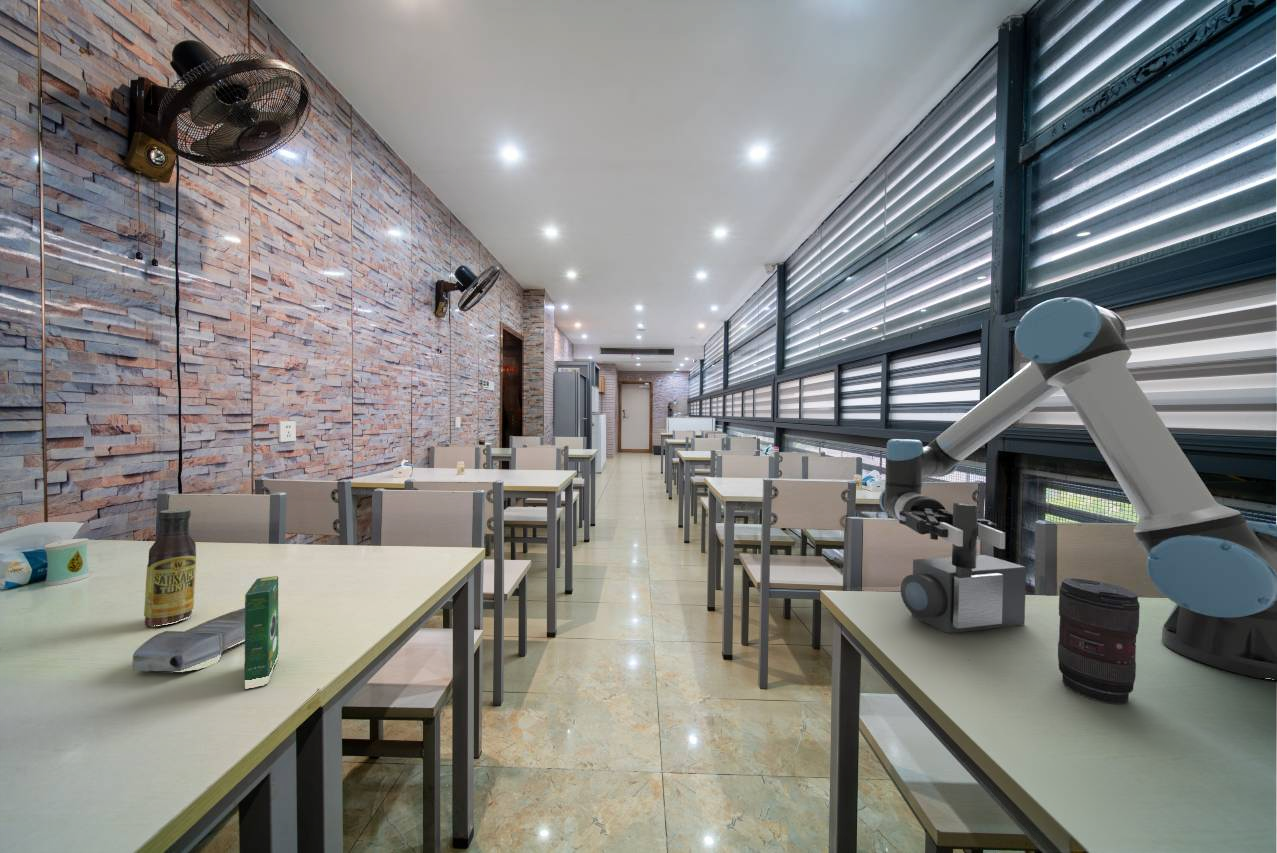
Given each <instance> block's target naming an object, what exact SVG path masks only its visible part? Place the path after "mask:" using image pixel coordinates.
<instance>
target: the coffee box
mask: <svg viewBox="0 0 1277 853" xmlns="http://www.w3.org/2000/svg"><path fill="white" fill-rule="evenodd" d="M244 608H245V642H244V663H243V664H244V665H243V666H244V671H243V672H244V674H243V676H244V677H243V680H252V679H256V678H262V677H266V676H269V674H270V672H271V670H272V667H273V665H274V663H275V660H276V658H277V655H278V656H279V576H277V575H276V576H275V575H274V576H266V577H265V576H264V577H260V578H259V577H258V578H256V580H254V582H253V584H252V585H251V586H250V588H249V589H248V590H247V592H246V593H245V595H244Z"/></svg>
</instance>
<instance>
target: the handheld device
mask: <svg viewBox="0 0 1277 853" xmlns="http://www.w3.org/2000/svg"><path fill="white" fill-rule="evenodd" d="M244 639H245V607H243V608H240V609H237V610H234V611H230V612H228V613H225V614H223V615H220V616H218V617H215V618H212V619H209V620H207V621H205V622H204V621H203V623H200V624H198V625H196V626H194V627H191V628H189V629H186V630H184V631H183V630H181V631H179V630H178V631H177V630H166V631H163V632H159V633H158V634H155V635H153V636H152V637H151V638H148V640H146V641H145V642H143V643H142V644H141V645H140V646H139V647H137V649H136V650H134V652H133V654H132V670H133V671H135V670H137V671H136V672H149V671H181V670H184V669H187V668H190V667H192V666H195V665H197V664H200V663H202V662H205V661H207V660H209V659H212V658H215V657H217V656H218V655H220V654H221V653H222V652H223V651H224V650H225V649H227V648H228V647H230V646H232V645H234V644H236V643H238V642H240V641H242V640H244ZM224 652H225V651H224ZM224 652H223V653H224ZM223 653H222V654H223Z"/></svg>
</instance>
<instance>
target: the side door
mask: <svg viewBox="0 0 1277 853" xmlns="http://www.w3.org/2000/svg"><path fill="white" fill-rule="evenodd" d="M952 507H953V508H952V513H953V526H954V527H956V528H958V529H960V530H963V547H961V546H956V545H954V544H952V543H951V557H952V565H954V566H956V576H954V605H953V626H954V627H956V628H958V629H959V628H968V627H977V626H985V625H994V624H1002V602H1003V574H1000V573H990V574H978V575H972V569H975V568H976V559H977V555H978V554H977V552H978V550H977V549H978V537H977V522H978V516H979V514H978V513H979V505H978V504H975V503H966V502H953V505H952Z"/></svg>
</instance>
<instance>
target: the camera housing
mask: <svg viewBox="0 0 1277 853" xmlns="http://www.w3.org/2000/svg"><path fill="white" fill-rule="evenodd" d="M990 573H1000V574H1003V602H1002V624H994V625H985V626H977V627H968V628H959V629H958V628H956V627H954V626H953V605H954V576H956V566H954V565H952V556H947V557H932V558H921V559H920V558H918V559H913V560H912V574H910V575H907V576H905V577H904V578H903V579H902V581H901V583H900V595H901V599H902V602H903V603H904V606H905V608H906V609H907V610H908V611H909V612H910V613H911V616H913V617H914V618H917V619H919V620H920V621H923V622H925V623H926V624H929V625H931V626H933V627H934V628H937V629H938V630H940V629H941V630H940V631H942V630H943V632H944V631H945V632H944V633H946V632H947V634H954V633H965V632H970V631H979V630H980V631H981V630H991V629H997V628H998V629H999V628H1006V627H1017V626H1024V625H1025V620H1026V618H1025V617H1026V615H1025V613H1026V590H1027V588H1026V586H1027V584H1026V582H1027V581H1026V580H1027V579H1026V578H1027V566H1023V565H1021V564H1017V563H1015V562H1014V563H1013V562H1011V561H1007V560H1004V559H1000V558H997V557H994V556H990V555H986V554H977V559H976V568H975V569H972V575H978V574H990Z"/></svg>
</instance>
